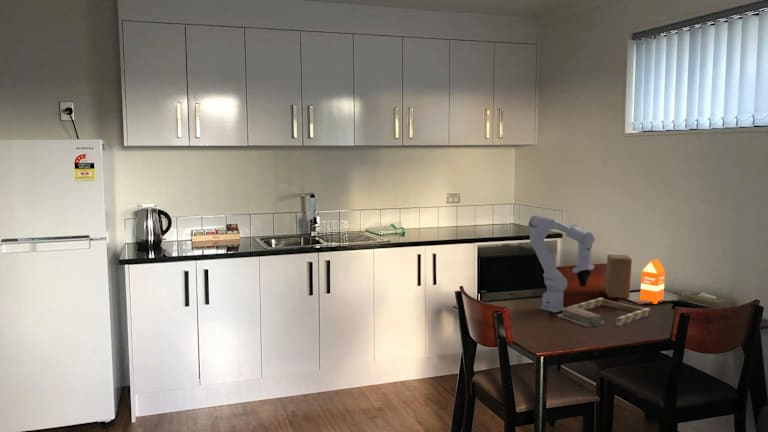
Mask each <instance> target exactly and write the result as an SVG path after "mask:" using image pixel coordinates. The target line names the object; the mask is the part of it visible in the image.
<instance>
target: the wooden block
mask: <svg viewBox="0 0 768 432" xmlns="http://www.w3.org/2000/svg"><path fill="white" fill-rule="evenodd" d="M606 259H607V260H606V274H605V275H606V277H605V294H606V295H607V297H608V298H610V299H611V298H612V299H630V297H631V296H630V293H631V277H632V276H631V275H632V262H633V261H632V258H631V257H630V256H629V255H627V254H607V258H606Z"/></svg>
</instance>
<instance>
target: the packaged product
mask: <svg viewBox="0 0 768 432" xmlns="http://www.w3.org/2000/svg"><path fill="white" fill-rule="evenodd" d="M557 316H558V317H557ZM556 317H557V318H560V317H561V319H563V318H564V320H566V319H567V320H566V321H568V320H570V321H569V322H571V321H572V323H574V322H575V323H574V324H577V323H578V325H580V324H581V326H583V325H584V326H583V327H585V326H586V327H585V328H592V326H593V327H597V326H604V325H605V321H603V320H602V315H600V314H598V313H594V312H591V311H589V310H587V309H586V310H583V309H580V308H577V307H574V306H573V305H569V306H566V307H565V309H563V310H562V313H559V314H556ZM603 324H604V325H603Z"/></svg>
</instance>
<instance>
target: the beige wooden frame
mask: <svg viewBox="0 0 768 432" xmlns="http://www.w3.org/2000/svg"><path fill="white" fill-rule="evenodd" d="M572 306H574V307H577V308H580V309H583V310H586V311H587V310H590V309H592V308H593V309H594V308H596V307H597V308H598V307H600V306H606V307H609V308H614V309H617V310H621V311H625V312H626V311H627V312H630V313H628V314H624V315H621V316H618V317H615V325H616V326H619V327H620V326H624V325H625V324H629V323H631V322H634V321H637V320H640V319H643V318H647V317H649V316H650V315H651V308H649V307H646V308H644V307H639V306H635V305H631V304H627V303H626V304H625V303H622V302H618V301H615V300H614V301H613V300H609V299H605V298H604V297H598V298H594V299H591V300H588V301H584V302H580V303H577V304H573V305H572Z"/></svg>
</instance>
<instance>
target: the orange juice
mask: <svg viewBox="0 0 768 432" xmlns="http://www.w3.org/2000/svg"><path fill="white" fill-rule="evenodd" d="M665 276H666V271H665V268H664V267H663V265H662V264H661V262H660V259H659V258H656V259H653V260H650V261H649V263H647V264H646V266H645V267H644V268H643V269H642V270H641V281H640V282H641V283H640V292H639V293H640V294H639V295H640V296H639V301H640V300H648V301H652V302H653V303H652V304H655V305H656V304H658V301H660V300H662V299H663V300H664V293H665V281H666V277H665Z"/></svg>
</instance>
